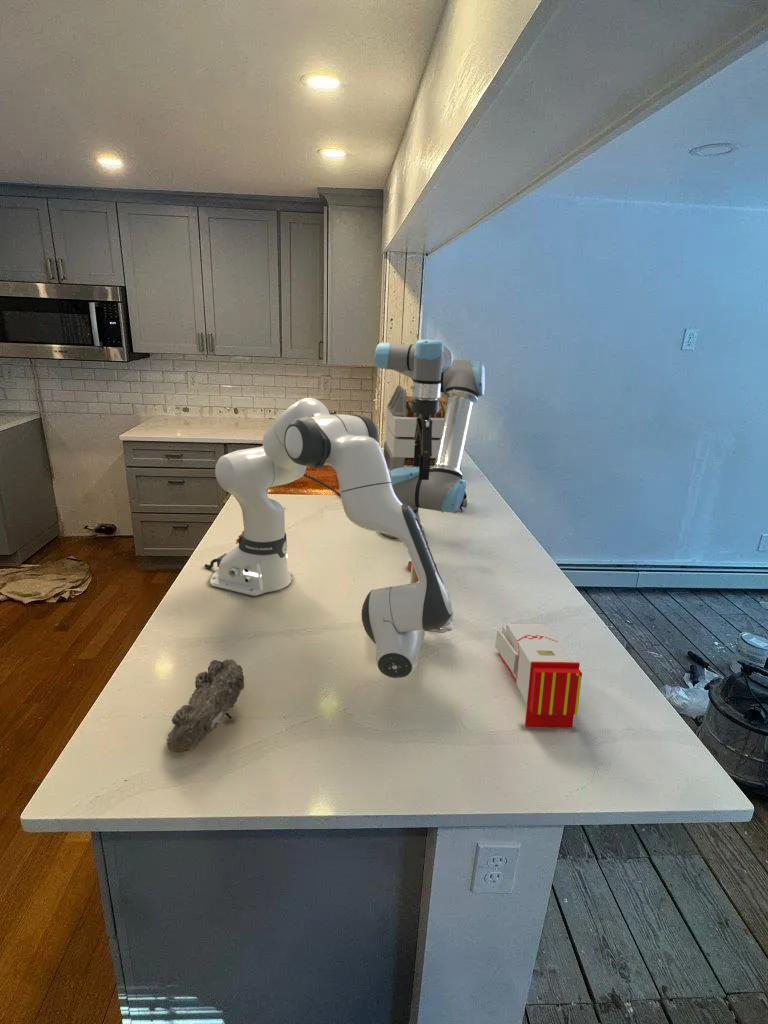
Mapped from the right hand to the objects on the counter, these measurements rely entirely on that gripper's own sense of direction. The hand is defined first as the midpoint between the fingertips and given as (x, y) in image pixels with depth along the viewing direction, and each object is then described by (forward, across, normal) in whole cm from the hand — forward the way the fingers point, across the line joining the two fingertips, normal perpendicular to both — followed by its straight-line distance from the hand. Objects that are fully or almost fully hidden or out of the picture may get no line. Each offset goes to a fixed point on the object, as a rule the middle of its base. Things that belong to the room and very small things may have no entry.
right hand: (420, 472), depth 163 cm
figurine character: (+31, -58, +24) cm, 70 cm away
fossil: (+31, +66, -46) cm, 86 cm away
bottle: (+31, +20, -1) cm, 36 cm away
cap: (+29, 0, 0) cm, 29 cm away
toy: (+31, +56, +19) cm, 67 cm away
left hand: (+23, +32, -4) cm, 39 cm away
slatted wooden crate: (+31, -107, +14) cm, 112 cm away
